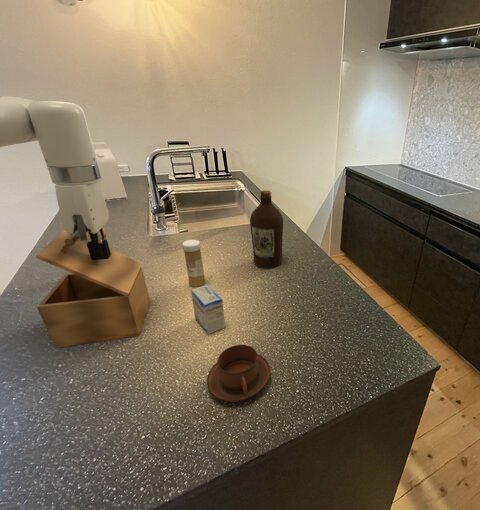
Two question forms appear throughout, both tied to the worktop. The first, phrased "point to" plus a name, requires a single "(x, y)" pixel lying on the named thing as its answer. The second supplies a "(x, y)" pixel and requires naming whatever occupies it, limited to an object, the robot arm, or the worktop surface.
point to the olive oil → (267, 233)
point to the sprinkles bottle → (194, 262)
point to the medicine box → (208, 309)
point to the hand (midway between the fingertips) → (101, 257)
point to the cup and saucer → (238, 374)
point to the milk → (109, 172)
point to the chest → (93, 311)
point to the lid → (91, 263)
